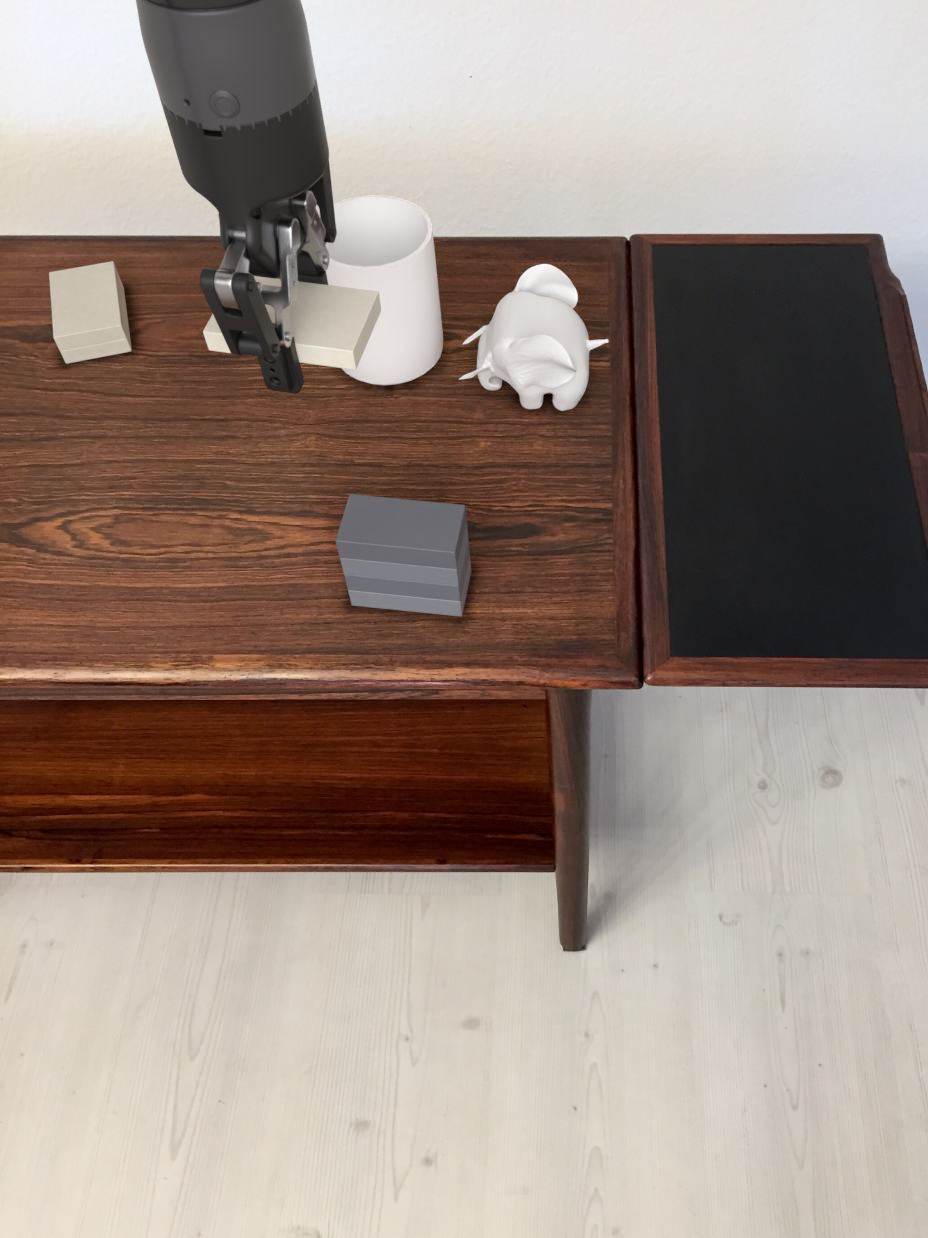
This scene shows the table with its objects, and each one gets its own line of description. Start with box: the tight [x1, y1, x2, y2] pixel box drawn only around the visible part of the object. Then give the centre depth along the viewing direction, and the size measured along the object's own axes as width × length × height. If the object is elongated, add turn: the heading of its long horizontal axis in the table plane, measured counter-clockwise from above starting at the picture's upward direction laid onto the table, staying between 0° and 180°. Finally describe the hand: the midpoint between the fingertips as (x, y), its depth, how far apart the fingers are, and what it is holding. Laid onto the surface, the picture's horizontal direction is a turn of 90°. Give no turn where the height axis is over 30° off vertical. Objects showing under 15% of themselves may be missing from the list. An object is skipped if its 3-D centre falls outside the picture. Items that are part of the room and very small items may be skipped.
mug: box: [318, 193, 444, 386], centre depth 86 cm, size 10×12×12 cm
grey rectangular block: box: [335, 493, 472, 617], centre depth 73 cm, size 8×4×7 cm, turn 83°
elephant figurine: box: [458, 263, 610, 412], centre depth 85 cm, size 10×12×9 cm
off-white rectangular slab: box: [202, 276, 381, 370], centre depth 63 cm, size 9×6×1 cm, turn 80°
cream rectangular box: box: [48, 260, 133, 365], centre depth 91 cm, size 9×6×3 cm, turn 17°
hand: (301, 353), depth 65 cm, fingers closed on off-white rectangular slab, 5 cm apart
